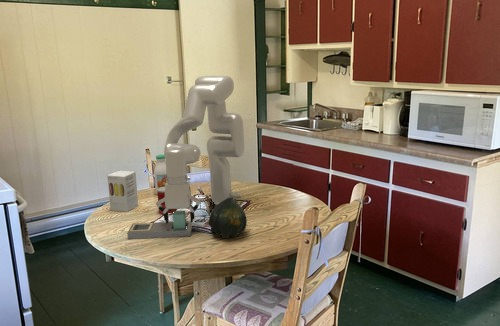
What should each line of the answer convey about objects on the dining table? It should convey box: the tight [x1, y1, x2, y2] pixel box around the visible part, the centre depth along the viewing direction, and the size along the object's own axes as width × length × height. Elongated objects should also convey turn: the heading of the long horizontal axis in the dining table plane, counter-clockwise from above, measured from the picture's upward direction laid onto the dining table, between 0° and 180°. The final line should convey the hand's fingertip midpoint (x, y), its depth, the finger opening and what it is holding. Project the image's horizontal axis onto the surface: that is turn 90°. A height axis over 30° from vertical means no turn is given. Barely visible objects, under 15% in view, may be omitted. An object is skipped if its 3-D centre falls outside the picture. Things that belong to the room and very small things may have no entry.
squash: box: [208, 197, 248, 239], centre depth 167 cm, size 14×15×15 cm
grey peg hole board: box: [127, 220, 193, 240], centre depth 171 cm, size 24×10×3 cm, turn 93°
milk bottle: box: [153, 154, 167, 196], centre depth 220 cm, size 8×8×20 cm
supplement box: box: [107, 170, 139, 213], centre depth 199 cm, size 10×9×17 cm
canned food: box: [156, 187, 178, 216], centre depth 193 cm, size 8×8×11 cm
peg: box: [172, 210, 187, 229], centre depth 171 cm, size 4×4×8 cm
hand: (179, 221), depth 171 cm, fingers open, 9 cm apart
